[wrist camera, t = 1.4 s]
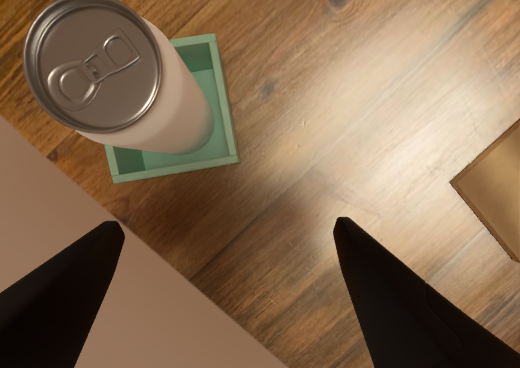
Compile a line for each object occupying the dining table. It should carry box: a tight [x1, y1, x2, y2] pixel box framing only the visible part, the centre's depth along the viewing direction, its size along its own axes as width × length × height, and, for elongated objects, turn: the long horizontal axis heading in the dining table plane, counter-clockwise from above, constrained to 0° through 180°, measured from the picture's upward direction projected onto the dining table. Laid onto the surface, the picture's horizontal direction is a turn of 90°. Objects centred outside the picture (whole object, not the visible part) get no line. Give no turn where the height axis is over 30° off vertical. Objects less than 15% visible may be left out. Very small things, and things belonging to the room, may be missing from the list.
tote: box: [104, 33, 241, 184], centre depth 19 cm, size 10×10×5 cm
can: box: [22, 0, 214, 155], centre depth 15 cm, size 6×6×12 cm
